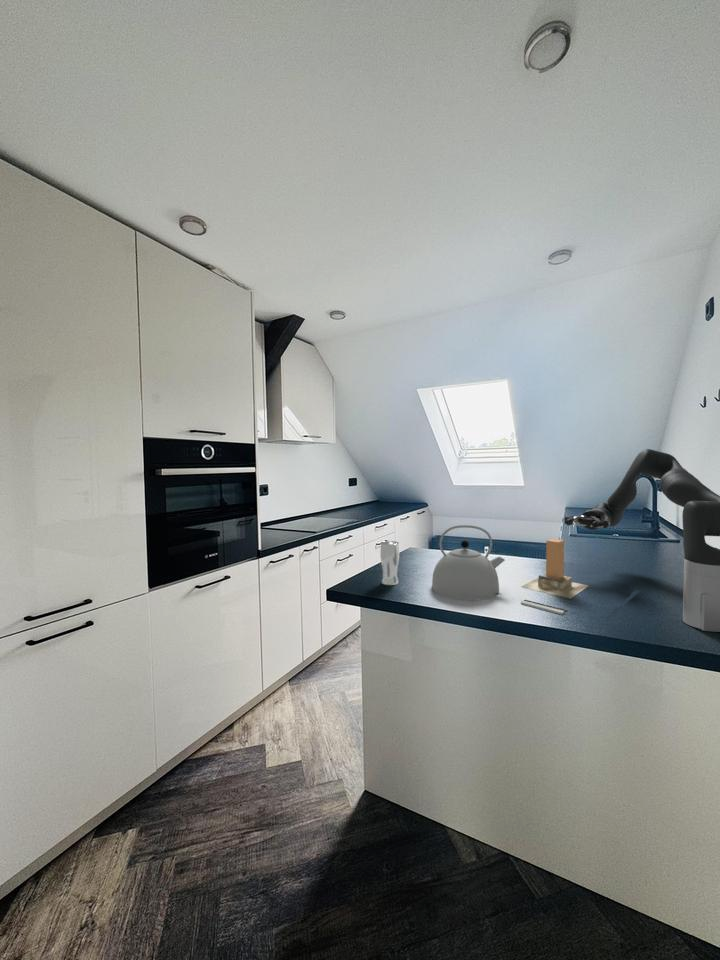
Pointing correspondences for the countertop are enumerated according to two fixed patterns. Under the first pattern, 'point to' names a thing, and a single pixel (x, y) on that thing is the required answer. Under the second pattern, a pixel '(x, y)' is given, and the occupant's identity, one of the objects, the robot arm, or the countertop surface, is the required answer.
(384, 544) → the beer glass
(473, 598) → the kettle
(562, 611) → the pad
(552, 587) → the wooden socket base
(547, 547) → the tan rectangular block
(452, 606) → the countertop surface
